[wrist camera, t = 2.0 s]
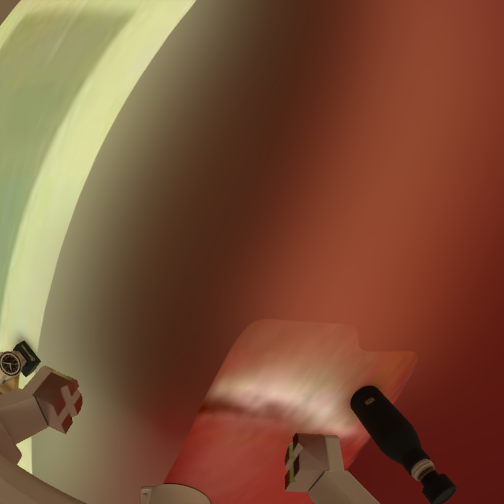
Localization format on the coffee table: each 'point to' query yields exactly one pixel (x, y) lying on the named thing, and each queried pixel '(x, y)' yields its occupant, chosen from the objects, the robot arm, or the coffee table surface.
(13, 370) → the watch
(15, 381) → the board
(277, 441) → the coffee table surface
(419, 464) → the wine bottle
